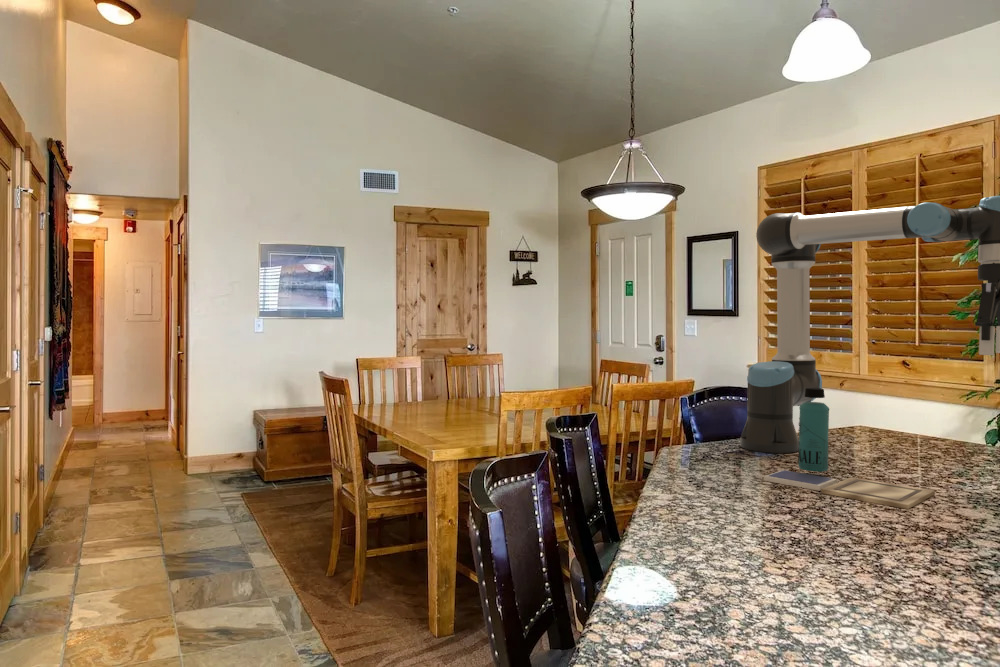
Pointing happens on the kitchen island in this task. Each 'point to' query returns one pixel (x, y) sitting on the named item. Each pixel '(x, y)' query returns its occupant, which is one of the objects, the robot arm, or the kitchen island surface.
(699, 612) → the kitchen island surface
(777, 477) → the ink pad
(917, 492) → the mark board
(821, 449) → the beverage bottle
